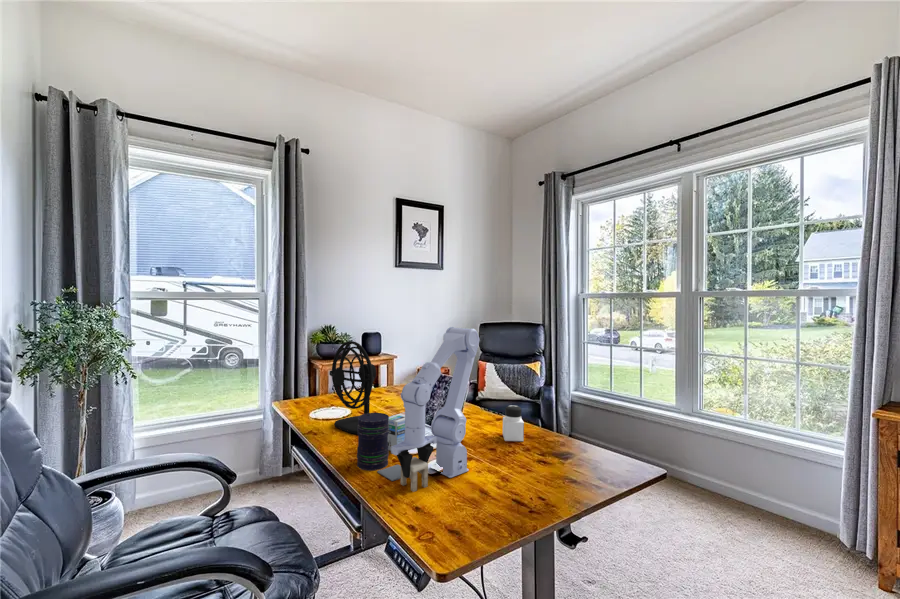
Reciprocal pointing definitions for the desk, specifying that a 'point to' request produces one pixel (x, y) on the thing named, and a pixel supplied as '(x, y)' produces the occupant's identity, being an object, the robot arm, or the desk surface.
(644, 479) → the desk surface
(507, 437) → the medicine bottle
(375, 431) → the storage jar
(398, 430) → the light bulb box
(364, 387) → the desk fan
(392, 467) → the mat
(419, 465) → the stool
